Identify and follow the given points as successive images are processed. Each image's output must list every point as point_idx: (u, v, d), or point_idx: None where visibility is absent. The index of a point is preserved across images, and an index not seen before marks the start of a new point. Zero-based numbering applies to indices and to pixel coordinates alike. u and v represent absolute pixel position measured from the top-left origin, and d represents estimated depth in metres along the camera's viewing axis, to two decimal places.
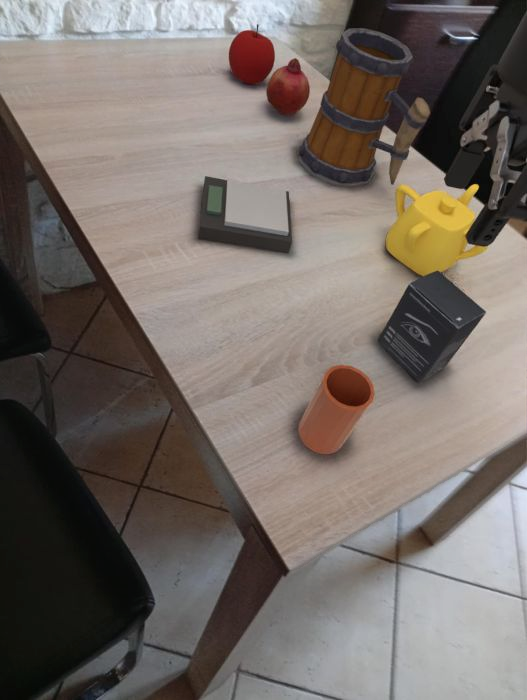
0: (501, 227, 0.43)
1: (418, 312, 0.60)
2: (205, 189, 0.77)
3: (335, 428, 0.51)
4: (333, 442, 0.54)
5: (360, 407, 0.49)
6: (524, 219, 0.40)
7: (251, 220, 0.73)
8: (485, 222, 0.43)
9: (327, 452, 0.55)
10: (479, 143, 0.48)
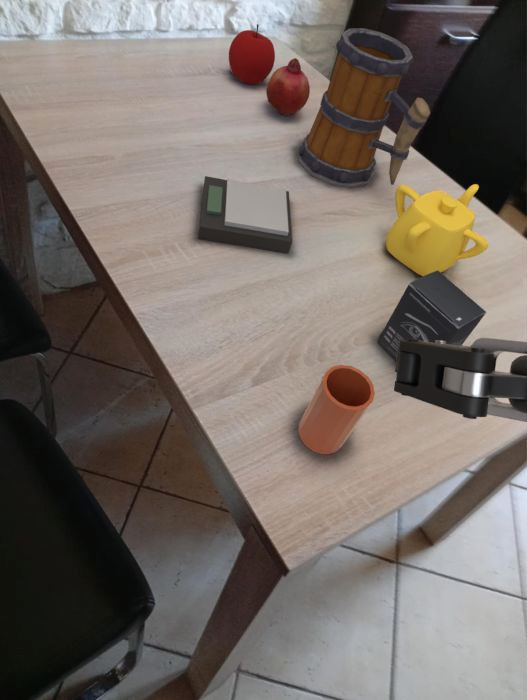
0: None
1: (418, 312, 0.60)
2: (205, 189, 0.77)
3: (335, 428, 0.51)
4: (333, 442, 0.54)
5: (360, 407, 0.49)
6: (396, 377, 0.25)
7: (251, 220, 0.73)
8: None
9: (327, 452, 0.55)
10: None
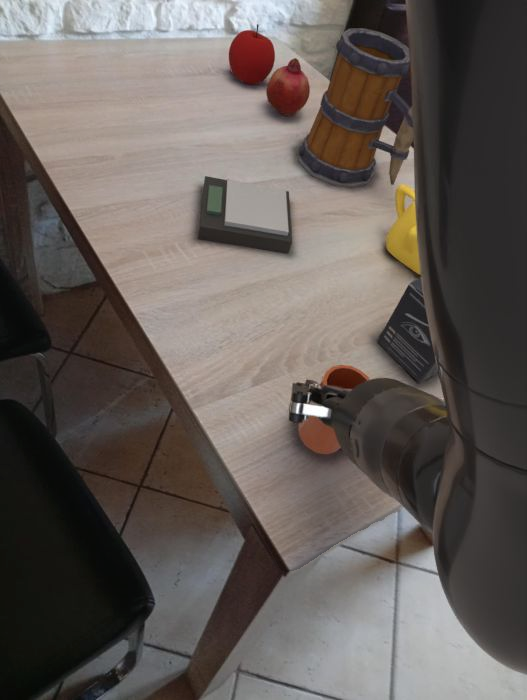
0: None
1: (418, 312, 0.60)
2: (205, 189, 0.77)
3: None
4: (333, 442, 0.54)
5: None
6: None
7: (251, 220, 0.73)
8: None
9: (327, 452, 0.55)
10: None
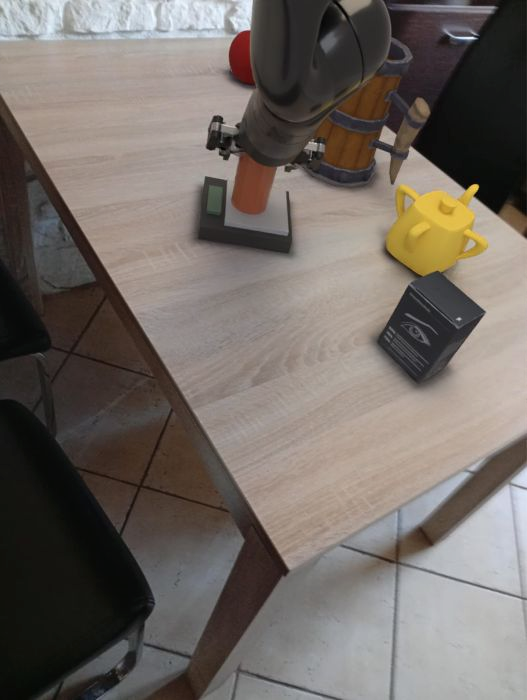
0: (219, 150, 0.68)
1: (418, 312, 0.60)
2: (205, 189, 0.77)
3: (253, 180, 0.70)
4: (254, 199, 0.72)
5: None
6: None
7: (251, 220, 0.73)
8: None
9: (251, 211, 0.73)
10: None
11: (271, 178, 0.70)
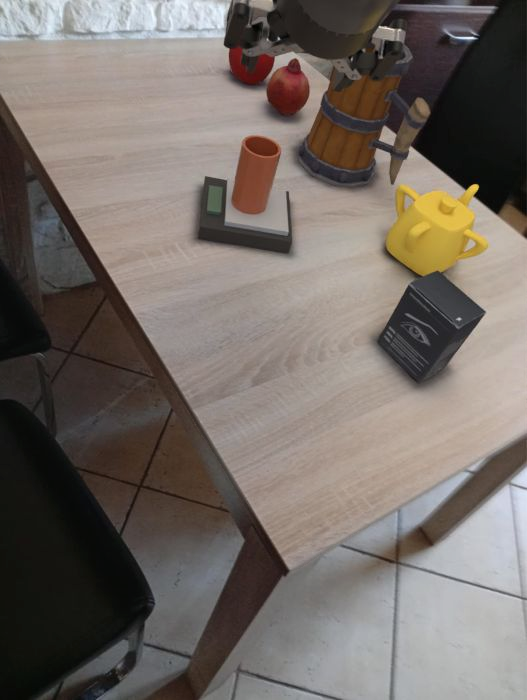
0: (242, 53, 0.47)
1: (418, 312, 0.60)
2: (205, 189, 0.77)
3: (253, 180, 0.70)
4: (254, 199, 0.72)
5: (269, 157, 0.67)
6: (225, 37, 0.44)
7: (251, 220, 0.73)
8: None
9: (251, 211, 0.73)
10: None
11: (271, 178, 0.70)
